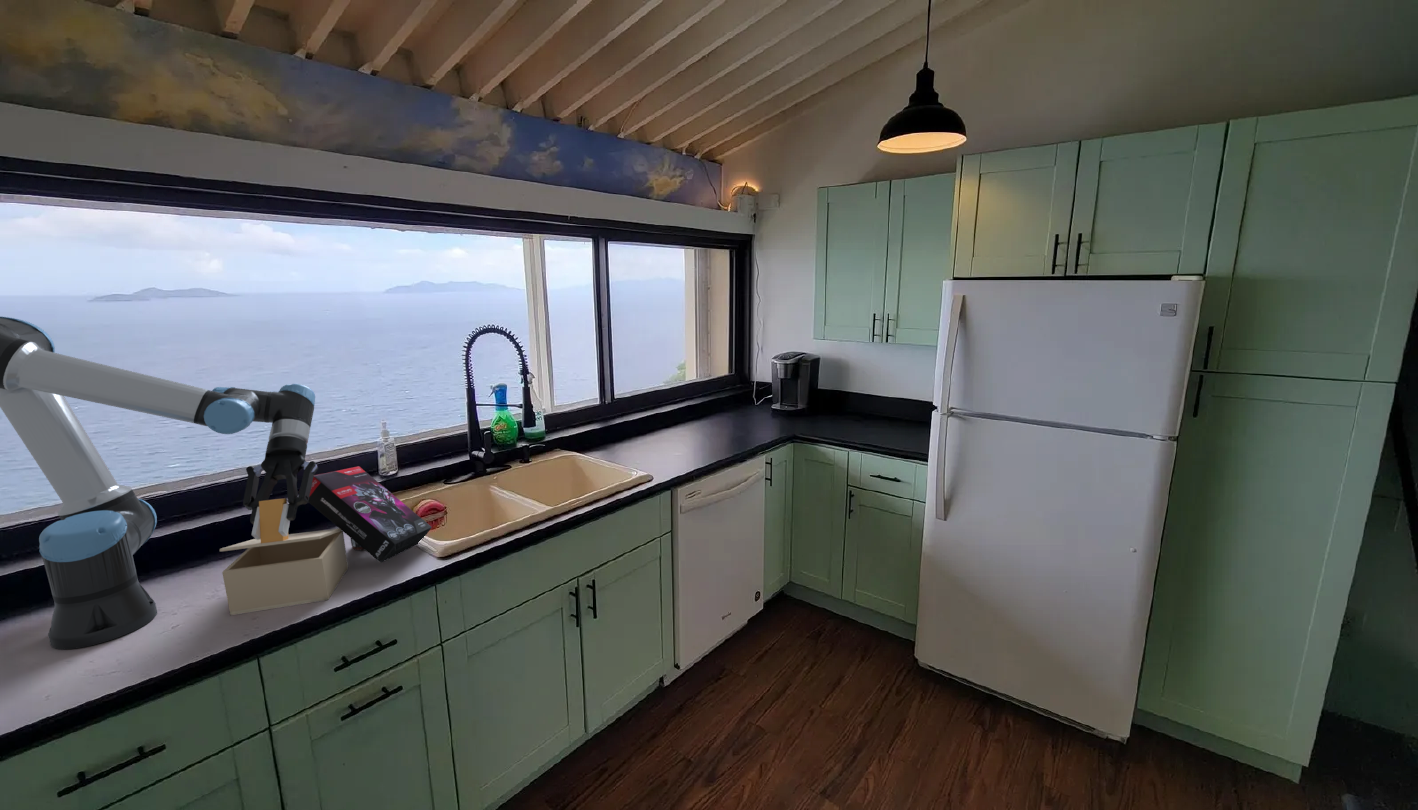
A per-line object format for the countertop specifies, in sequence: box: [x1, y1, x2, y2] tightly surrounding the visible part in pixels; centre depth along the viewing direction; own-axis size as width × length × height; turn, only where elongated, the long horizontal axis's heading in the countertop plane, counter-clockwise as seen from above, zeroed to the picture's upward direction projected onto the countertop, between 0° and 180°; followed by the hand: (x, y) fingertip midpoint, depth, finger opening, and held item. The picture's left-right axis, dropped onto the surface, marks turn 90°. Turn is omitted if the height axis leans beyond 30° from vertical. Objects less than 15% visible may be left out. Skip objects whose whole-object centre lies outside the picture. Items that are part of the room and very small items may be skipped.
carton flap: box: [219, 497, 342, 552], centre depth 127 cm, size 18×16×10 cm
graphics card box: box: [297, 465, 433, 563], centre depth 144 cm, size 17×7×27 cm
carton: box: [221, 531, 349, 616], centre depth 128 cm, size 18×16×10 cm
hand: (269, 535), depth 119 cm, fingers closed on carton flap, 4 cm apart
